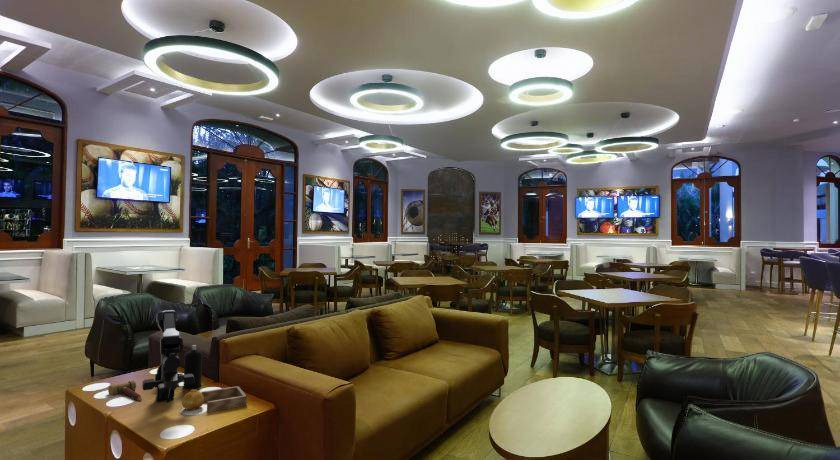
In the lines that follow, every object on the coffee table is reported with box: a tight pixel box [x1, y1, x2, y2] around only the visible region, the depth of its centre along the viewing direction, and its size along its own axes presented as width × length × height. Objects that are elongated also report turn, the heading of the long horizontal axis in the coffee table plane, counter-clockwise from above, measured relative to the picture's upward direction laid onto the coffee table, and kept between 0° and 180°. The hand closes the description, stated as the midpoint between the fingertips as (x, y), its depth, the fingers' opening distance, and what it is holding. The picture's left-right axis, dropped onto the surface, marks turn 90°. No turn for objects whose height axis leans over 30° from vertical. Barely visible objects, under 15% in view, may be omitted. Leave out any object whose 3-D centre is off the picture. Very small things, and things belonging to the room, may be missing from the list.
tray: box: [200, 385, 248, 413], centre depth 199 cm, size 16×15×4 cm
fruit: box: [181, 389, 205, 411], centre depth 192 cm, size 8×8×8 cm
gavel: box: [107, 380, 143, 401], centre depth 204 cm, size 21×5×10 cm
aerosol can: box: [182, 344, 204, 390], centre depth 219 cm, size 8×8×20 cm
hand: (168, 402), depth 187 cm, fingers closed
